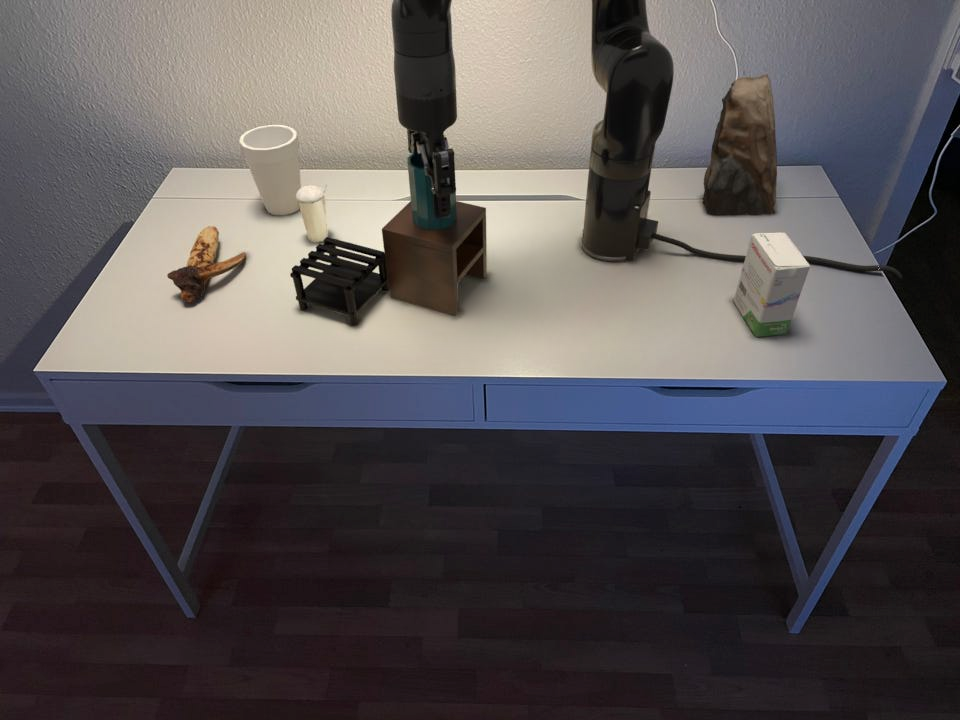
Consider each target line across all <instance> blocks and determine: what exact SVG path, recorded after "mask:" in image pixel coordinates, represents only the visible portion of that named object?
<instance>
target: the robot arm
mask: <svg viewBox="0 0 960 720" xmlns="http://www.w3.org/2000/svg"><path fill="white" fill-rule="evenodd" d="M452 3H453V0H392V4H391V8H390V9H391V11H390V12H391V13H390V14H391V31H392V42H393V75H394V85H395V96H396V97H395V98H396V108H397V109H396V110H397V119H398V122H399V124H400V126H402V127H403V128H405V129H406V132H407V133H406V134H407V145H408V147H407V151H408V153H409V154H410V155H411V154H412V153H417V152H418V154H419V155H420V157H421V160H422V165H423V169H424V174H425V176H426V177H428V178H429V179H430V184H431V191H432V197H433V213H434V215H435V217H436V218H441V217H446V216H449V215H450V213H451V210H450V194H453V193H456V194H457V183H456V165H455V151H454V149H453V148H452V147H451V148H450V146H449V141H448V137H447V136H445V134H444V133H445V131H447V129H448V128H451V127H452V126H453V125H454V124H455V123H456V121H457V119H458V104H457V103H458V101H457V77H456V76H457V75H456V61H455V56H454V55H455V54H454V50H453V25H452V12H451V9H452ZM647 12H648V11H647V1H646V0H591V39H590V63H591V68H592V69H591V70H592V74H593V77H594V79H595V82H596V83H597V84H598V86H599V87H600V88H601V89H602V90H603V91H604V93H605V94H606V96H605V105H604V111H603V112H604V113H603V118H602V120H600V121H598V122H597V123H596V124H595V125H594V127H593V129H592V133H591V143H590V152H589V153H590V154H589V164H588V174H587V175H588V177H587V186H586V197H585V208H584V219H583V227H582V228H583V229H582V237H581V243H580V244H581V249H582V250H583V251H584V252H585V253H586V254H587V255H588V256H590V257H592V258H594V259H597V260H600V261H604V262H622V261H628V262H633V261H634V260H635V258H636V257H637V255H638V253H639V251H640V250H643V251H649V249H650V247H651V245H652V243H653V241H654V240H656V241H660V242H664V243H666V244H670V245H673V246H676V247H679V248H682V249H683V250H685V251H687V252H689V253H691V254H693V255H697V256H699V257H700V256H701V257H705V258H709V259H710V258H711V259H714V260H715V259H716V260H721V261H736V262H744V261H745V257H746V255H740V254H727V253H718V252H711V251H706V250H702V249H698V248H696V247H693V246H692V245H689V244H687V243H686V242H683V241H681V240H678V239H675V238H672V237H668V236H665V235H661V234H658V233H657V232H658V226H659V220H655V219H651V218H648V214H649V213H648V212H649V207H650V201H651V195H652V192H651V190H649V186H650V180H651V174H652V167H653V162H654V161H653V160H654V156H655V149H656V144H657V141H658V139H659V138H660V136H661V134H662V132H663V130H664V128H665V123H666V119H667V114H668V108H669V105H670V104H669V103H670V98H671V95H672V90H673V82H674V77H675V76H674V74H675V72H674V71H675V66H674V60H673V59H674V58H673V57H672V53H671V52H670V51H669V49H668V48H667V47H666V46H665V45H664V44H663V43H661V41H660V40H658V39H657V38H656V37H655V36H654V35H652V33H651V31H650V25H649V19H648V13H647ZM429 166H434V169H431V168H430V167H429ZM442 179H444V180H445V183H441V180H442ZM802 256H803V257H804V258H805V260H806V261H807V262H808V263H815V264H819V265H820V264H821V265H825V266H830V267H835V268H840V269H844V270H851V271H857V272H887V273H889V274H891V275H892V276H893V277H895V278H896V279H903V275H902V273H900V272H899V270H897V269H896V268H894V267H892V266H890V265H885V264H882V265H881V264H880V265H879V264H874V265H873V264H872V265H859V264H854V263H848V262H842V261H837V260H833V259H827V258H823V257H816V256H809V255H802ZM878 266H879V267H878ZM879 268H880V269H879ZM878 269H879V270H878Z"/></svg>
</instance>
